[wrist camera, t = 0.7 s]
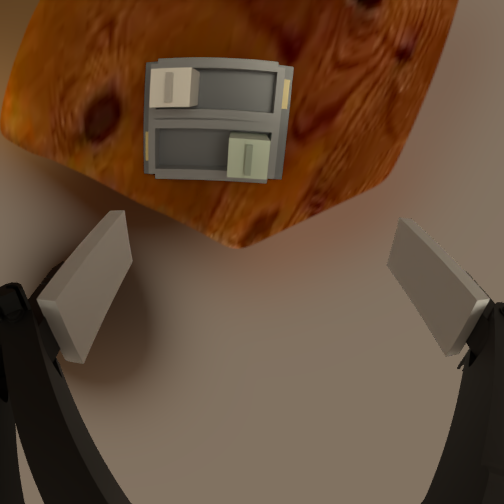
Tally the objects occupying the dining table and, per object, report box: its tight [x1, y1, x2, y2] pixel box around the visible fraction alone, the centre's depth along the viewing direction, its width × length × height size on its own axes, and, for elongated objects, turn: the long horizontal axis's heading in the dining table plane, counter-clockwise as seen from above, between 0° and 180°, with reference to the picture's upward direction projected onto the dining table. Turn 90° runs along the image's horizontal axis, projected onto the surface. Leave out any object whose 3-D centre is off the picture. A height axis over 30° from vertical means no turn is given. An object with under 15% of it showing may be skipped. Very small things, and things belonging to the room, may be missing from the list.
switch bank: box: [144, 57, 294, 183], centre depth 32 cm, size 14×17×3 cm
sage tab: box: [227, 131, 271, 180], centre depth 31 cm, size 4×4×7 cm
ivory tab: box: [149, 67, 200, 108], centre depth 27 cm, size 4×4×7 cm
